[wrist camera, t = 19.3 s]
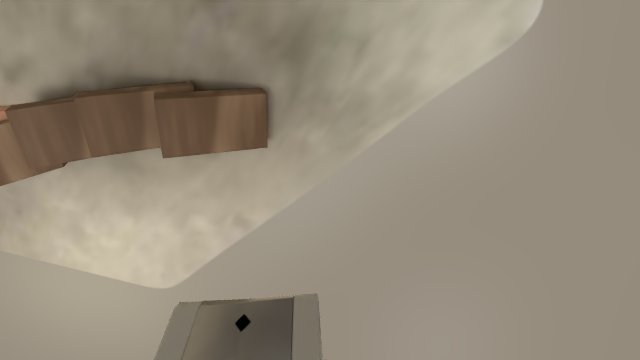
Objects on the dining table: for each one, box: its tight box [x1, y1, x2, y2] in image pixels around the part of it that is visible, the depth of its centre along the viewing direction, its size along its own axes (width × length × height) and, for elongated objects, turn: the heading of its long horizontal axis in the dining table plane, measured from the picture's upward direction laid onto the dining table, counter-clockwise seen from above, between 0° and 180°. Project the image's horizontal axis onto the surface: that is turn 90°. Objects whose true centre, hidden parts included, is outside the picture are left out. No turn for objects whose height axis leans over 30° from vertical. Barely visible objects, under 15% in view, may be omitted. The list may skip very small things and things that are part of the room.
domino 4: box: [154, 88, 268, 158], centre depth 33 cm, size 2×5×9 cm
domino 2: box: [0, 119, 68, 186], centre depth 34 cm, size 2×5×9 cm
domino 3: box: [73, 82, 194, 158], centre depth 33 cm, size 2×5×9 cm
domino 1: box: [5, 97, 92, 169], centre depth 33 cm, size 2×5×9 cm
